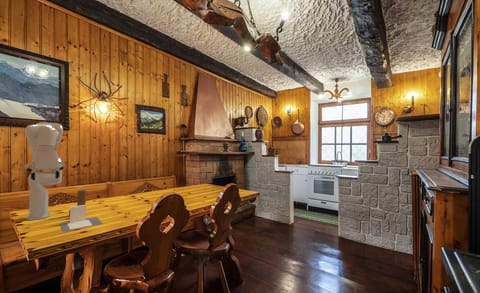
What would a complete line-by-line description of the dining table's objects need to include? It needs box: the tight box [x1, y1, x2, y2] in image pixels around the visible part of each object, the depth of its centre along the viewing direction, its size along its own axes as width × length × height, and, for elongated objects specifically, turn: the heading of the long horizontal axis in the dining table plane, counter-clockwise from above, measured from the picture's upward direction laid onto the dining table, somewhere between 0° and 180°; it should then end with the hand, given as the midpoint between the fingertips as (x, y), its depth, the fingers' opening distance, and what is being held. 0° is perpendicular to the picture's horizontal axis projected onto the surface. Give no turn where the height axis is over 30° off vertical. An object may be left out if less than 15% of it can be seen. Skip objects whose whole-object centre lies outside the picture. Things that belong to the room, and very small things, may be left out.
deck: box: [69, 205, 87, 223], centre depth 138 cm, size 2×8×10 cm, turn 135°
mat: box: [59, 216, 104, 233], centre depth 134 cm, size 20×20×1 cm
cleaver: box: [68, 189, 87, 218], centre depth 152 cm, size 9×4×18 cm, turn 132°
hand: (45, 179), depth 118 cm, fingers open, 9 cm apart
